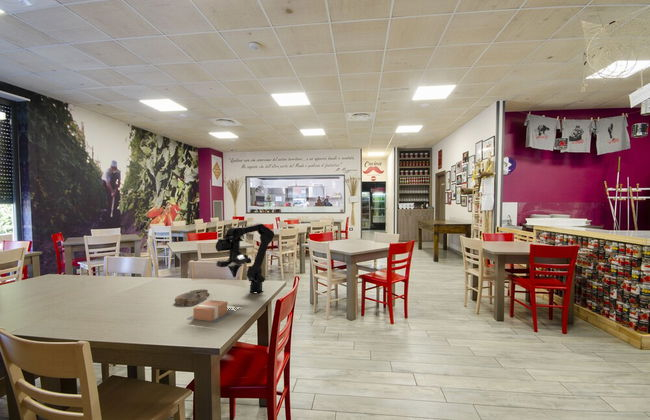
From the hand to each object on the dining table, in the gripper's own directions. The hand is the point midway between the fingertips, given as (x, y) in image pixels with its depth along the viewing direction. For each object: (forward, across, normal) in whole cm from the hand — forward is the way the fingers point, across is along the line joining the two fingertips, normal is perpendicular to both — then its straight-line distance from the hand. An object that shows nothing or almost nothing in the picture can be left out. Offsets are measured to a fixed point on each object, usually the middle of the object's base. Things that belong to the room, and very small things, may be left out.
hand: (234, 277), depth 163 cm
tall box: (+9, -16, -14) cm, 23 cm away
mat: (+12, -18, -15) cm, 26 cm away
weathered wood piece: (+13, -16, +14) cm, 25 cm away
